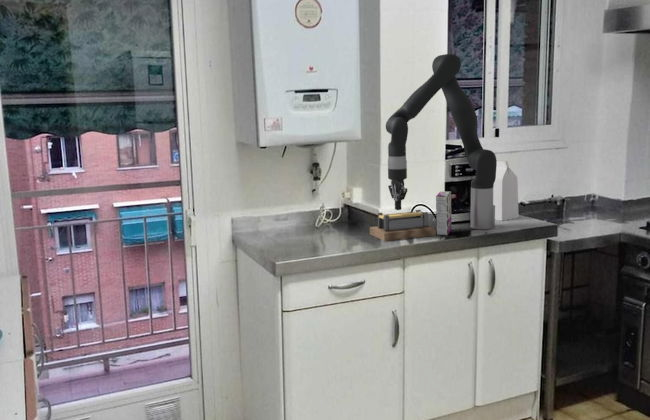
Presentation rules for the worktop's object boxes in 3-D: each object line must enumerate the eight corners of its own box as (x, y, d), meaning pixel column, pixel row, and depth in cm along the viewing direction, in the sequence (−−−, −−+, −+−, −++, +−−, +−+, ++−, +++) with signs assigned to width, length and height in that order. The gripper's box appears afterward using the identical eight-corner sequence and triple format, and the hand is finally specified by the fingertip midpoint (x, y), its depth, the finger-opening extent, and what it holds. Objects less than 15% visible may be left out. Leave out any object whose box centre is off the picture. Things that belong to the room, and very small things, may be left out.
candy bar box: (439, 229, 257) (439, 191, 254) (451, 229, 255) (451, 191, 252) (435, 235, 246) (435, 195, 243) (447, 235, 245) (448, 195, 242)
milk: (481, 217, 280) (481, 161, 275) (497, 214, 286) (498, 159, 282) (501, 221, 270) (503, 162, 266) (518, 217, 277) (520, 160, 272)
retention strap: (421, 214, 253) (421, 210, 252) (425, 216, 249) (425, 212, 249) (379, 218, 246) (379, 214, 246) (383, 220, 242) (383, 216, 242)
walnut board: (419, 228, 259) (419, 221, 258) (435, 235, 246) (435, 227, 245) (369, 234, 251) (369, 227, 251) (384, 241, 238) (384, 233, 238)
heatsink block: (419, 223, 255) (419, 208, 254) (428, 227, 248) (428, 211, 247) (377, 228, 249) (377, 212, 248) (386, 231, 241) (385, 215, 240)
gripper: (413, 168, 238) (414, 211, 241) (398, 165, 250) (399, 206, 254) (396, 169, 236) (397, 213, 239) (381, 166, 248) (382, 208, 251)
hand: (398, 209), depth 246 cm, fingers closed
